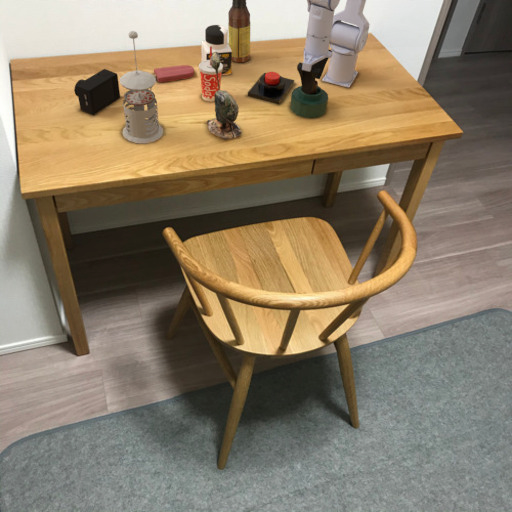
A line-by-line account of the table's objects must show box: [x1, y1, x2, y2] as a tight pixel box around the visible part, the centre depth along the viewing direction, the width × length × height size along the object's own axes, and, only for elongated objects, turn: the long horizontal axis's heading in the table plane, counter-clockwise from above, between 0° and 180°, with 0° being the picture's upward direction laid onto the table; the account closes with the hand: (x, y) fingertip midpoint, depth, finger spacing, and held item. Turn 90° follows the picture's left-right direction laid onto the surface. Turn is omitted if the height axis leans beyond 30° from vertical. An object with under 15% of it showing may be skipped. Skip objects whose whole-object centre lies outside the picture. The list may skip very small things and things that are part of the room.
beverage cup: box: [198, 46, 223, 103], centre depth 145 cm, size 6×6×14 cm
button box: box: [247, 72, 296, 105], centre depth 153 cm, size 12×9×3 cm
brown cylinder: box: [305, 79, 319, 95], centre depth 146 cm, size 3×3×7 cm
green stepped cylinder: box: [289, 85, 329, 119], centre depth 147 cm, size 9×9×6 cm
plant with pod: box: [206, 52, 243, 140], centre depth 132 cm, size 8×11×20 cm
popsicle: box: [153, 64, 195, 83], centre depth 155 cm, size 5×2×15 cm
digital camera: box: [73, 68, 121, 116], centre depth 142 cm, size 10×5×7 cm, turn 149°
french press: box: [118, 30, 164, 144], centre depth 129 cm, size 10×12×25 cm
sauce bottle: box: [227, 0, 251, 63], centre depth 158 cm, size 7×6×20 cm
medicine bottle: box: [200, 24, 233, 76], centre depth 156 cm, size 7×7×12 cm
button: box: [265, 71, 281, 85], centre depth 152 cm, size 4×4×2 cm
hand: (311, 84), depth 144 cm, fingers open, 7 cm apart
